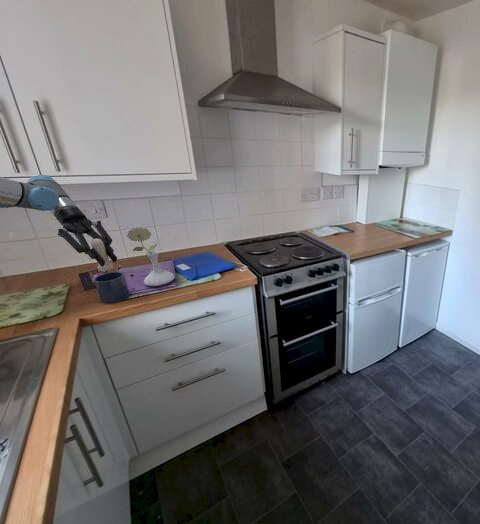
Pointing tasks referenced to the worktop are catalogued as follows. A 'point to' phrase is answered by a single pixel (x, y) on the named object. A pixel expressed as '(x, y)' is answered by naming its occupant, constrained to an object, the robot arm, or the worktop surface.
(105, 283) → the cup
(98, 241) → the game piece
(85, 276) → the purple printed box
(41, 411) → the worktop surface
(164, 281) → the flower in vase
